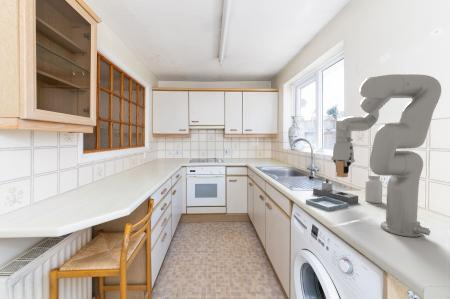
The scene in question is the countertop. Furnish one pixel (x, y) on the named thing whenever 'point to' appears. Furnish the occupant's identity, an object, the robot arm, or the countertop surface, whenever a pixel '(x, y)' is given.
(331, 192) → the grey two-slot holder
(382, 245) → the countertop surface
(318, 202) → the tray
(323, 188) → the twin plug
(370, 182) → the pill bottle
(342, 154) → the robot arm
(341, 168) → the plug
